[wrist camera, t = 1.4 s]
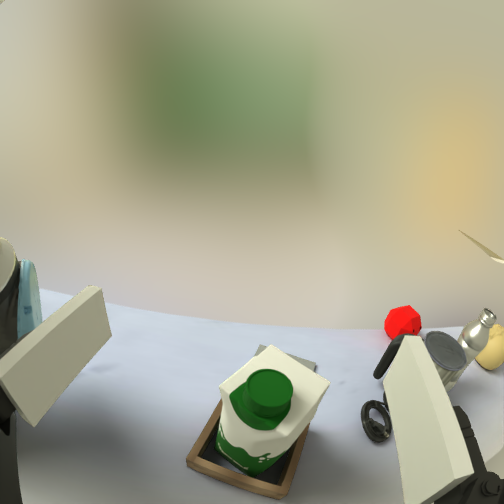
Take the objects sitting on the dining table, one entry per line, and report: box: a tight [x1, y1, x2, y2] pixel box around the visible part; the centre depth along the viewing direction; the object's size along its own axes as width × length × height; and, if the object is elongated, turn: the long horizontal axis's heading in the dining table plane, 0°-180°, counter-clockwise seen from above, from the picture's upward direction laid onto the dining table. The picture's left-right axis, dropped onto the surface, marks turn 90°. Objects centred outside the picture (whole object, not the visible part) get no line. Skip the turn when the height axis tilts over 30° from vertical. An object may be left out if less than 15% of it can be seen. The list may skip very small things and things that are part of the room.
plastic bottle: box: [444, 308, 497, 393], centre depth 39 cm, size 6×7×20 cm
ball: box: [384, 305, 422, 340], centre depth 56 cm, size 8×8×8 cm
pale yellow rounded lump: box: [475, 324, 504, 370], centre depth 48 cm, size 12×12×11 cm
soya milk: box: [214, 345, 331, 478], centre depth 27 cm, size 9×9×20 cm
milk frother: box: [361, 331, 467, 442], centre depth 35 cm, size 14×16×15 cm
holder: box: [186, 398, 310, 500], centre depth 31 cm, size 13×13×4 cm
